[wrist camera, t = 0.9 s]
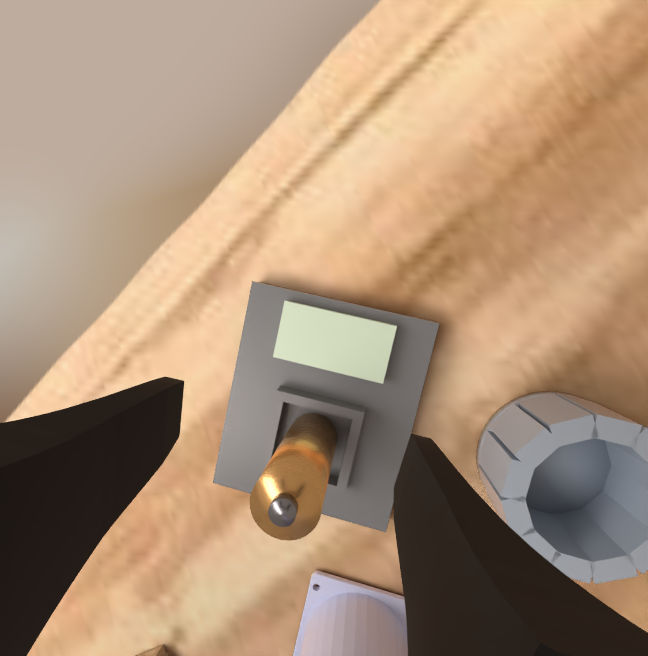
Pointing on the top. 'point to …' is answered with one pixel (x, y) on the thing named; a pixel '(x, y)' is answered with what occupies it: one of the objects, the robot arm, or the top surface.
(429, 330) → the battery tester
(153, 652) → the banker's lamp
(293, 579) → the top surface
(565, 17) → the top surface
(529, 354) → the top surface
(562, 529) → the cup
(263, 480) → the copper cell
